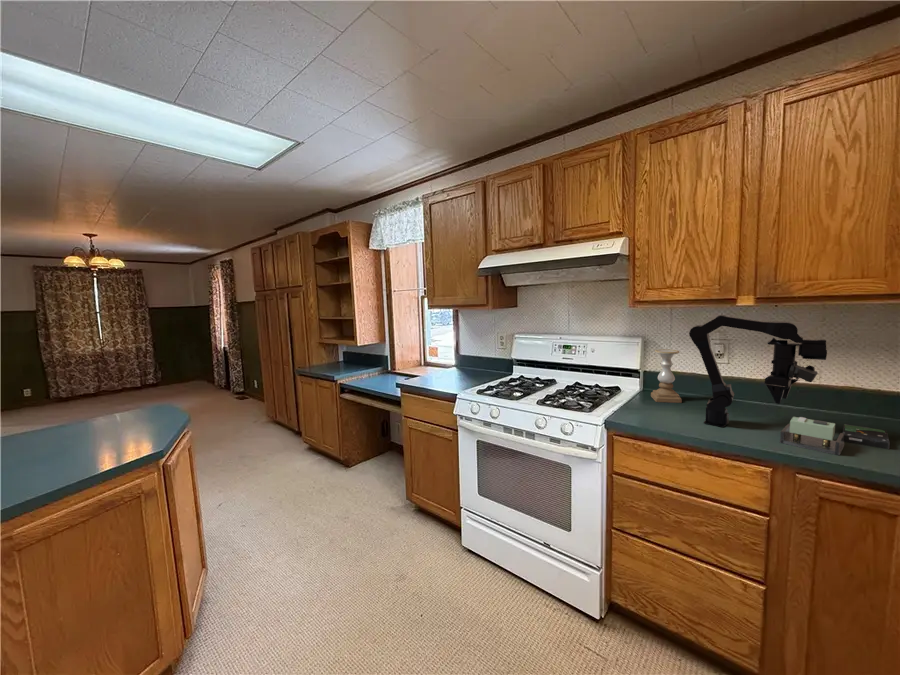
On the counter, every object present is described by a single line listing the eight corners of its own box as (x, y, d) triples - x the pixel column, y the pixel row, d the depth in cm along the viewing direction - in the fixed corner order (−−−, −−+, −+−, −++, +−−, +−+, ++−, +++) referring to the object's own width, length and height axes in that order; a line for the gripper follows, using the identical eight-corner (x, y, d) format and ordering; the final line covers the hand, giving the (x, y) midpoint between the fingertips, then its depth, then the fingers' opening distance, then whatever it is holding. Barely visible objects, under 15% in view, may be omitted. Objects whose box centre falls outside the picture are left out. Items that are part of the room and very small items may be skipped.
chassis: (779, 442, 124) (780, 431, 124) (786, 434, 131) (787, 423, 131) (839, 455, 113) (840, 442, 113) (844, 445, 120) (845, 433, 120)
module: (789, 432, 124) (790, 419, 123) (792, 427, 128) (793, 414, 127) (832, 440, 116) (833, 426, 116) (834, 435, 120) (835, 421, 119)
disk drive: (890, 451, 116) (886, 437, 126) (891, 442, 116) (886, 429, 126) (842, 442, 123) (841, 430, 134) (842, 434, 123) (842, 422, 133)
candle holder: (656, 402, 175) (657, 352, 172) (650, 396, 185) (651, 349, 183) (682, 403, 172) (683, 352, 169) (674, 396, 182) (676, 349, 180)
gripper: (810, 364, 117) (807, 411, 119) (821, 356, 128) (817, 400, 130) (765, 360, 126) (762, 404, 128) (779, 353, 137) (776, 394, 139)
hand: (781, 401), depth 131 cm, fingers open, 9 cm apart
